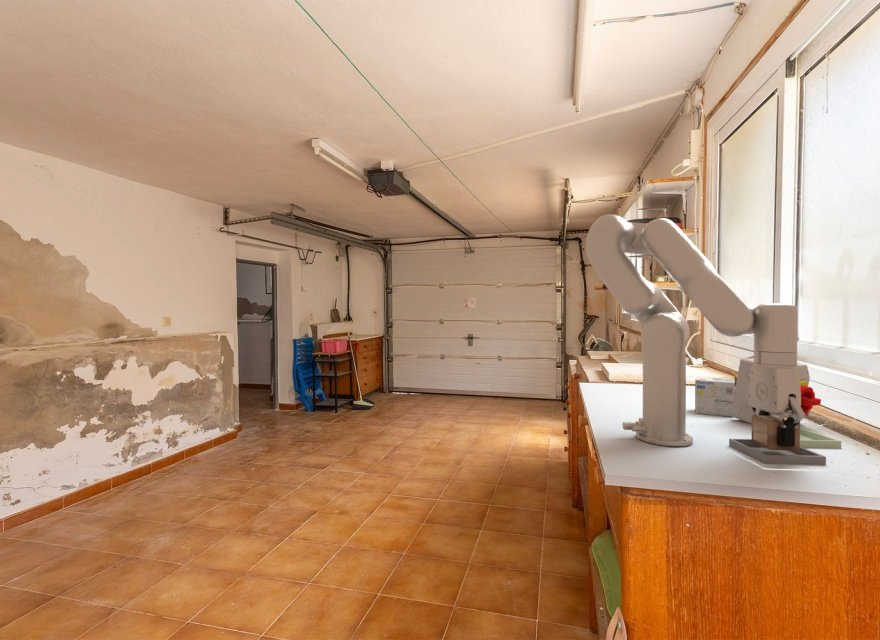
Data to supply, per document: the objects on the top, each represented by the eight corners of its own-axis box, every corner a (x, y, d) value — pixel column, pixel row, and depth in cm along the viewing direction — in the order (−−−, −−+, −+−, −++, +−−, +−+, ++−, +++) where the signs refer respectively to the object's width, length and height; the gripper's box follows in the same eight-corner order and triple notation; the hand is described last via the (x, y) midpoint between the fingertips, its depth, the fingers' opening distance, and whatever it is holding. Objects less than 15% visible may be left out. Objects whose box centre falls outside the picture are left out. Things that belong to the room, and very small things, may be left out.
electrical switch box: (786, 442, 111) (800, 367, 108) (729, 420, 125) (740, 354, 122) (820, 436, 117) (834, 365, 114) (762, 416, 130) (773, 352, 127)
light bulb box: (734, 413, 135) (735, 379, 134) (735, 417, 129) (736, 382, 129) (695, 409, 140) (695, 376, 140) (694, 413, 135) (694, 379, 135)
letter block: (769, 450, 91) (769, 421, 91) (750, 441, 97) (751, 414, 97) (799, 450, 91) (800, 421, 91) (779, 442, 97) (779, 415, 97)
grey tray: (764, 465, 88) (764, 455, 88) (729, 447, 100) (729, 438, 100) (825, 466, 88) (826, 456, 88) (782, 448, 100) (782, 439, 99)
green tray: (786, 448, 99) (786, 440, 99) (752, 434, 111) (752, 426, 111) (841, 449, 98) (841, 441, 98) (800, 435, 110) (800, 427, 110)
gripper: (732, 355, 102) (732, 430, 103) (786, 364, 85) (785, 454, 85) (765, 355, 102) (765, 431, 102) (826, 364, 85) (825, 454, 85)
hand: (774, 440), depth 94 cm, fingers closed on letter block, 6 cm apart
